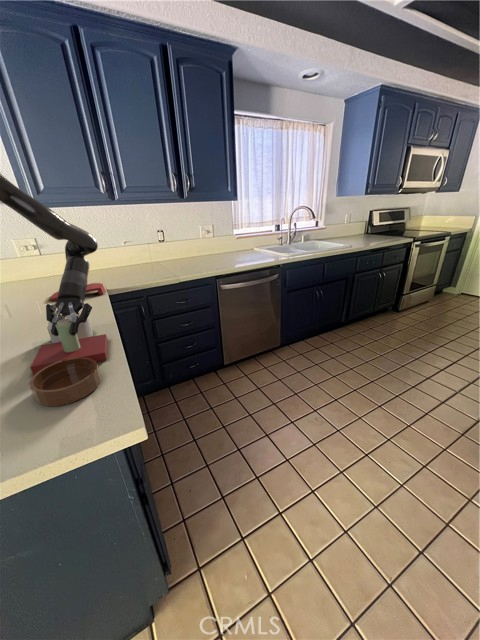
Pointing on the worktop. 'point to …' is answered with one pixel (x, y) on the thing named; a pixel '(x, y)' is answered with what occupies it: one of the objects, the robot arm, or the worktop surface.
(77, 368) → the bowl
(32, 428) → the worktop surface
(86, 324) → the lumpy-topped squat cylinder
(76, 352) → the book
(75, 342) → the pepper shaker
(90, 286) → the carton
